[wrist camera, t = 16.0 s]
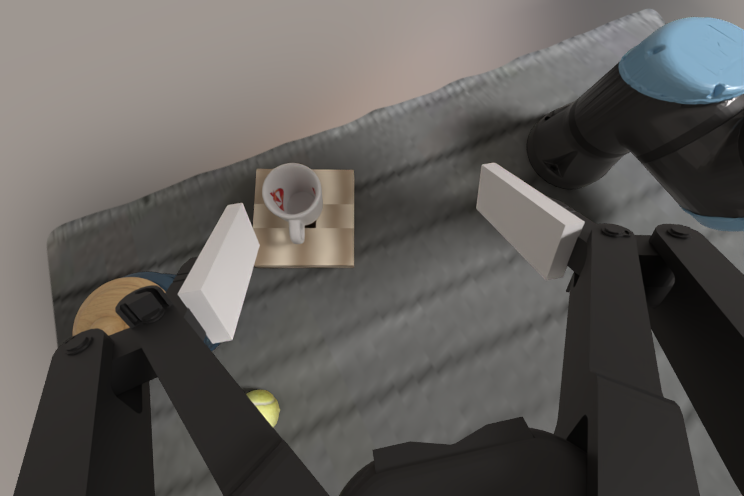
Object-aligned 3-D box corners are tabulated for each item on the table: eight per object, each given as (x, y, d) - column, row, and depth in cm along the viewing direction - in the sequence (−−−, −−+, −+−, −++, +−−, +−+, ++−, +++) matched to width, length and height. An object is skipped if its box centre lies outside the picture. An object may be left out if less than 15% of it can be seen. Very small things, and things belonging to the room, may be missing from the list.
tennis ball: (227, 398, 39) (221, 453, 38) (278, 396, 40) (274, 449, 39) (239, 384, 45) (235, 431, 44) (283, 383, 46) (280, 428, 45)
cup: (329, 247, 45) (322, 237, 37) (278, 250, 45) (260, 240, 37) (327, 183, 47) (320, 161, 39) (278, 185, 47) (261, 163, 39)
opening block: (354, 179, 52) (353, 169, 48) (353, 267, 49) (353, 265, 45) (264, 178, 51) (256, 168, 47) (259, 267, 48) (250, 265, 44)
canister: (136, 330, 46) (1, 352, 29) (187, 262, 48) (88, 244, 31) (203, 374, 45) (105, 423, 28) (251, 303, 47) (187, 308, 30)
